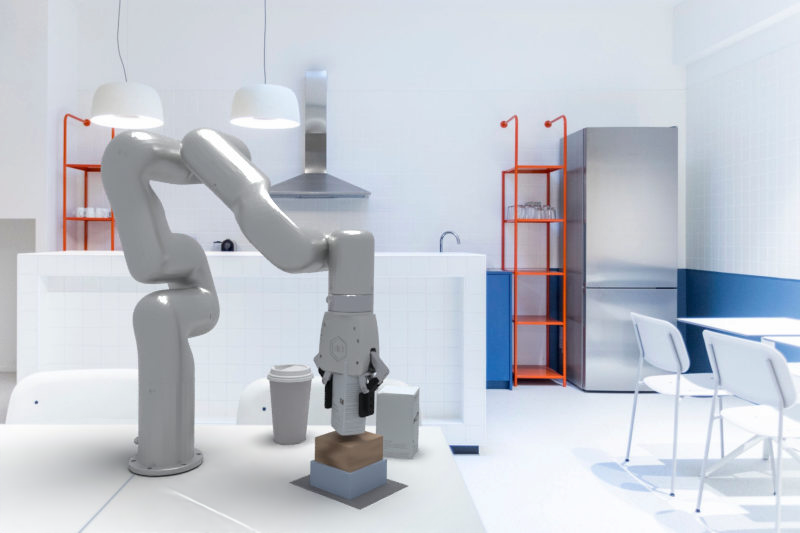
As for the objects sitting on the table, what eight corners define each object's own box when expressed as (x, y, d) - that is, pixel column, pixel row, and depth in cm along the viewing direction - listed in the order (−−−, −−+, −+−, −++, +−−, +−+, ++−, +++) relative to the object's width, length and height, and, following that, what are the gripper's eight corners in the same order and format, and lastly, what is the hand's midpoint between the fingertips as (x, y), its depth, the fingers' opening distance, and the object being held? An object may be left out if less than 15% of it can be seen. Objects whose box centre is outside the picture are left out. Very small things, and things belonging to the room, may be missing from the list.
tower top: (314, 461, 100) (314, 437, 100) (348, 449, 106) (348, 426, 106) (350, 472, 95) (350, 447, 95) (382, 459, 101) (383, 435, 101)
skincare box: (329, 426, 102) (330, 355, 102) (354, 423, 104) (355, 353, 104) (341, 437, 97) (343, 361, 96) (367, 433, 99) (369, 359, 98)
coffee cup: (295, 429, 131) (295, 361, 131) (322, 440, 125) (323, 367, 124) (257, 439, 125) (257, 366, 124) (284, 450, 118) (284, 374, 118)
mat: (288, 484, 101) (288, 482, 101) (339, 465, 110) (339, 463, 110) (359, 511, 91) (360, 509, 91) (408, 488, 100) (408, 485, 100)
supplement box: (412, 462, 113) (414, 394, 113) (374, 458, 114) (375, 392, 114) (419, 449, 120) (420, 386, 120) (383, 446, 122) (384, 383, 121)
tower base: (310, 485, 100) (310, 461, 100) (347, 470, 107) (347, 447, 107) (349, 499, 94) (350, 474, 94) (386, 482, 101) (387, 459, 101)
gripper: (297, 302, 102) (296, 406, 103) (375, 310, 92) (373, 426, 92) (329, 299, 108) (328, 398, 109) (406, 307, 97) (404, 416, 98)
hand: (349, 410), depth 100 cm, fingers closed on skincare box, 7 cm apart
